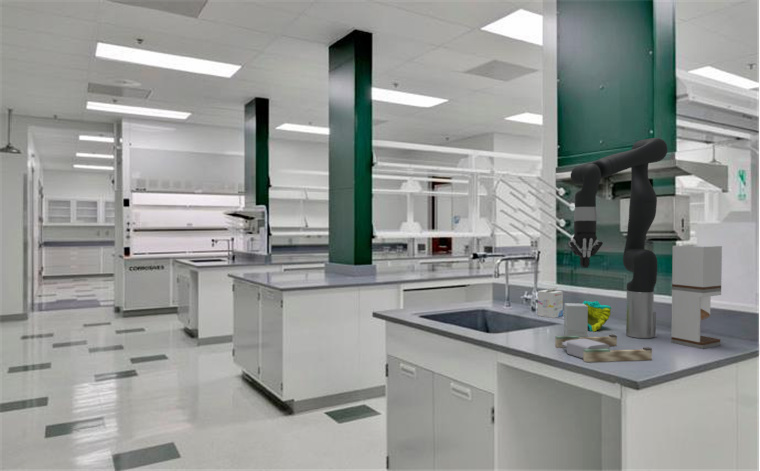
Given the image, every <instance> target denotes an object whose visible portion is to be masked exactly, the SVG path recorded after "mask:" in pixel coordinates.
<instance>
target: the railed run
mask: <svg viewBox="0 0 760 471" xmlns="http://www.w3.org/2000/svg"><path fill="white" fill-rule="evenodd" d="M576 339H589V340H593V341H597V342H600V343H604V344H608V345H609V347H617V345H618V343H617V342H618V341H617V339H618V336H617V335H615V334H608V336H587V337H579V336H564V335H558V336H555V338H554V340H555V341H554V342H555V344H554V346H555V348H558V349H559V348H561V349H562V348H565V347H564V346H563V345H562V344H563V343H562V342H565V341H569V340H576ZM652 352H653V348H651V347H648V346H647V347H642V349H641V348H640V349H615V350H611V349H610V348H609V349H584V352H583V362H585V363H596V362H597V363H600V362H603V363H604V362H627V361H628V362H629V361H652V359H653V357H652V356H653V355H652V354H653V353H652Z"/></svg>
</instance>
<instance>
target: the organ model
mask: <svg viewBox="0 0 760 471" xmlns="http://www.w3.org/2000/svg"><path fill="white" fill-rule="evenodd" d="M581 304H585V305H586V306H588V331H590V332H593V333H594V332H595V333H596V332H597V331H598V330H601V329H602V327H603V326H604V325H605V324H606V323H607V321H608V320H609V318H610V316H611V310H612V308H611V306H610V305H607V304H606V305H605V304H601V303H600V302H599V301H598V300H595V301H589V300H584V301H583V302H582V303H581Z"/></svg>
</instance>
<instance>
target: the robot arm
mask: <svg viewBox="0 0 760 471" xmlns="http://www.w3.org/2000/svg"><path fill="white" fill-rule="evenodd" d="M667 154H668V145H667V142H666V141H665V140H664V139H662V138H660V137H652V138H651V137H650V138H645V139H640V140H637V141H636V142H634V143H633V145H632V147H631V150H626V151H621V152H617V153H614V154H610V155H607V156H604V157H602V158H598V159H597V160H594V161H590V162H585V163H582V164H579V165H577V166H575V167H574V168H573V169H572V170H571V172H570V179H571V181H572V182H573V183H574V184H576V185H582V186H581V189H580V190H578V191H577V192H575V194H574V195H575V196H574V212H573V234H574V235H573V238H572V240H570V241H567V245H568V247H569V249H570V250H571V251H572V253H573V254H574V255H575V256H578V257H579V264H580V267H581V268H583V269H585V268H586V269H587V268H589V267H590V264H591V263H590V259H591V257H592V256H595V255H596V253H597V252H598V251H599V250H600V248H601V247H602V245H603V241H600V240H598V236H597V204H596V203H597V193H598V190H599V187H600V183H601V178H607V177H610V176H612V175H615V174H618V173H621V172H624V171H626V170H628V169H631V173H630V175H631V177H630V178H631V181H630V182H631V183H630V197H629V205H628V206H629V209H628V219H627V220H628V224H627V234H626V238H625V239H626V240H625V246H624V251H623V254H622V255H623V256H622V262H623V266H624V268H625V269H626V270H627V271H628V272H631V273H633V274H632V279H631V280H630V281H629V282H627V284H626V302H625V303H626V307H625V308H626V310H625V312H626V313H625V316H626V317H625V319H626V320H625V321H626V323H625V324H626V325H625V336H627V337H632V338H636V339H637V338H638V339H651V338H656V336H657V331H656V329H657V312H656V311H655V310H654V306H655V305H654V296H655V295H654V293H655V292H654V291H655V286H656V284H657V279H658V278H657V276H658V258H657V255H656V254H655V253H654V252H653V251H652V250H650V249H645V247H646V246H645V245H646V237H647V234H648V232H649V230H650V228H651V226H652V224H653V223H654V221H655V218H656V216H657V205H658V203H657V202H658V200H657V199H658V198H657V194H656V192H655V189H654V187H653V186H652V184H651V182H650V179H649V164H653V163H659V162H660V161H662V160H663V159H665V158H666V156H667ZM576 245H577V246H576Z"/></svg>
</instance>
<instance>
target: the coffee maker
mask: <svg viewBox="0 0 760 471" xmlns="http://www.w3.org/2000/svg"><path fill="white" fill-rule="evenodd" d="M722 255H723V246H722V245H716V246H715V245H714V246H713V245H712V246H695V245H694V244H691V245H689V244H688V245H685V244H683V245H681V244H680V245H672V257H671V258H672V262H671V264H672V271H671V272H672V273H671V277H672V278H671V279H672V280H671V334H670V335H671V338H670V339H671V344H672V343H673V344H677V345H682V346H687V347H691V348H697V349H699V350H700V349H701V350H704V349H709V348H713V347H717V346H721V339H720V338H717V337H710V336H705V335H701V321H703V320H706V319H709V318H710V317H711V302H712V301H711V297H714V296H722V270H723V269H722V266H723V264H722V262H723V260H722V258H723V256H722Z"/></svg>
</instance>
